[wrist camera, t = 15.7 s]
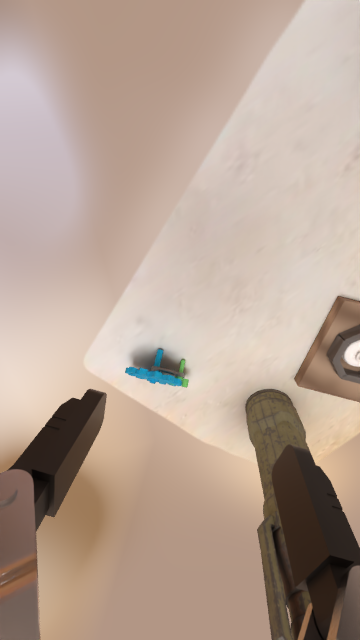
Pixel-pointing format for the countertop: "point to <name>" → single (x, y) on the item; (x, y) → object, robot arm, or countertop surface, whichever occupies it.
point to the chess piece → (352, 354)
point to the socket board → (334, 354)
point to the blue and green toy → (157, 375)
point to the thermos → (276, 507)
